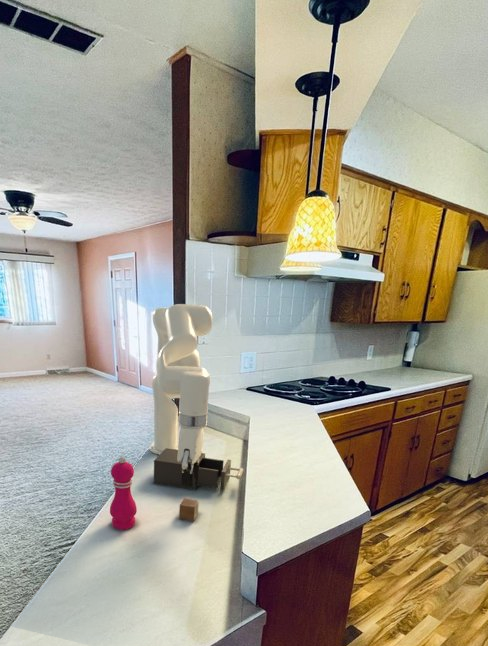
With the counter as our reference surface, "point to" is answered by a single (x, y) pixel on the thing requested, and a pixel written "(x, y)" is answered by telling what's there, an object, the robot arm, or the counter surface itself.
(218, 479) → the drawer
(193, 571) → the counter surface
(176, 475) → the drawer cabinet
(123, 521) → the pepper mill
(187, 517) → the block
